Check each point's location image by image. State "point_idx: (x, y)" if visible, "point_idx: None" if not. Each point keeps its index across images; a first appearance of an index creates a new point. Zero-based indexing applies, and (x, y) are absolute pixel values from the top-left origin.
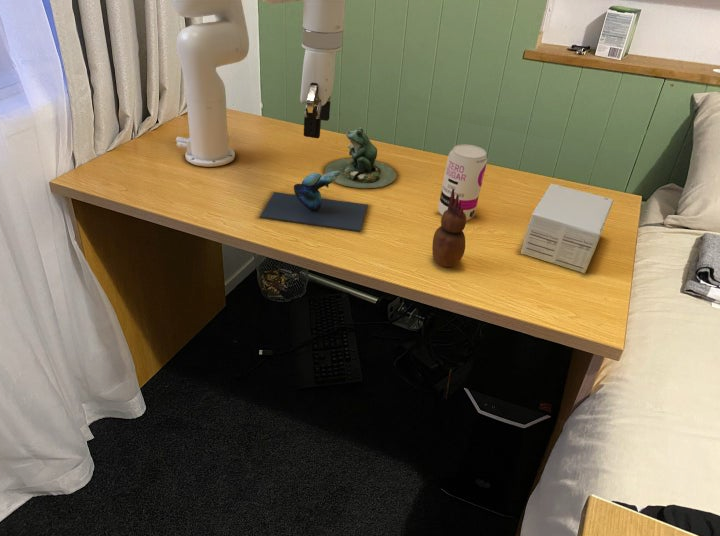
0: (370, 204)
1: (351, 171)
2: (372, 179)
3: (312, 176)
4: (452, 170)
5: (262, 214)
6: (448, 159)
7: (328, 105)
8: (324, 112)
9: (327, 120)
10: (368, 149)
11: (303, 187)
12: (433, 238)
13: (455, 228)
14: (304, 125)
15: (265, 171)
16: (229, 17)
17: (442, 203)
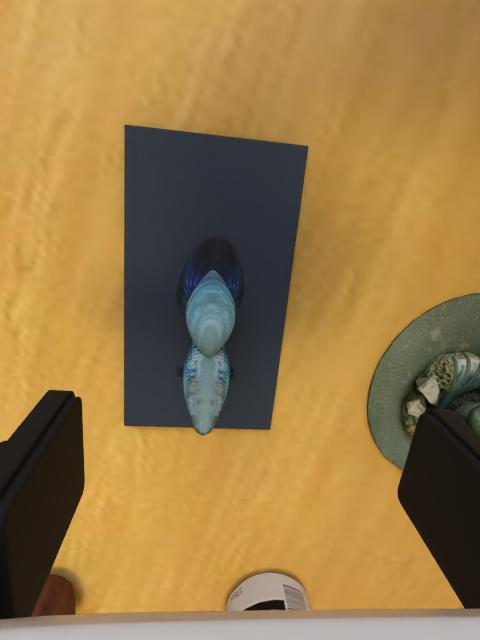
0: (280, 433)
1: (445, 381)
2: (409, 433)
3: (194, 324)
4: None
5: (139, 131)
6: None
7: (465, 605)
8: (435, 518)
9: (402, 490)
10: None
11: (196, 277)
12: (33, 615)
13: None
14: (8, 444)
15: (476, 82)
16: None
17: (253, 605)
